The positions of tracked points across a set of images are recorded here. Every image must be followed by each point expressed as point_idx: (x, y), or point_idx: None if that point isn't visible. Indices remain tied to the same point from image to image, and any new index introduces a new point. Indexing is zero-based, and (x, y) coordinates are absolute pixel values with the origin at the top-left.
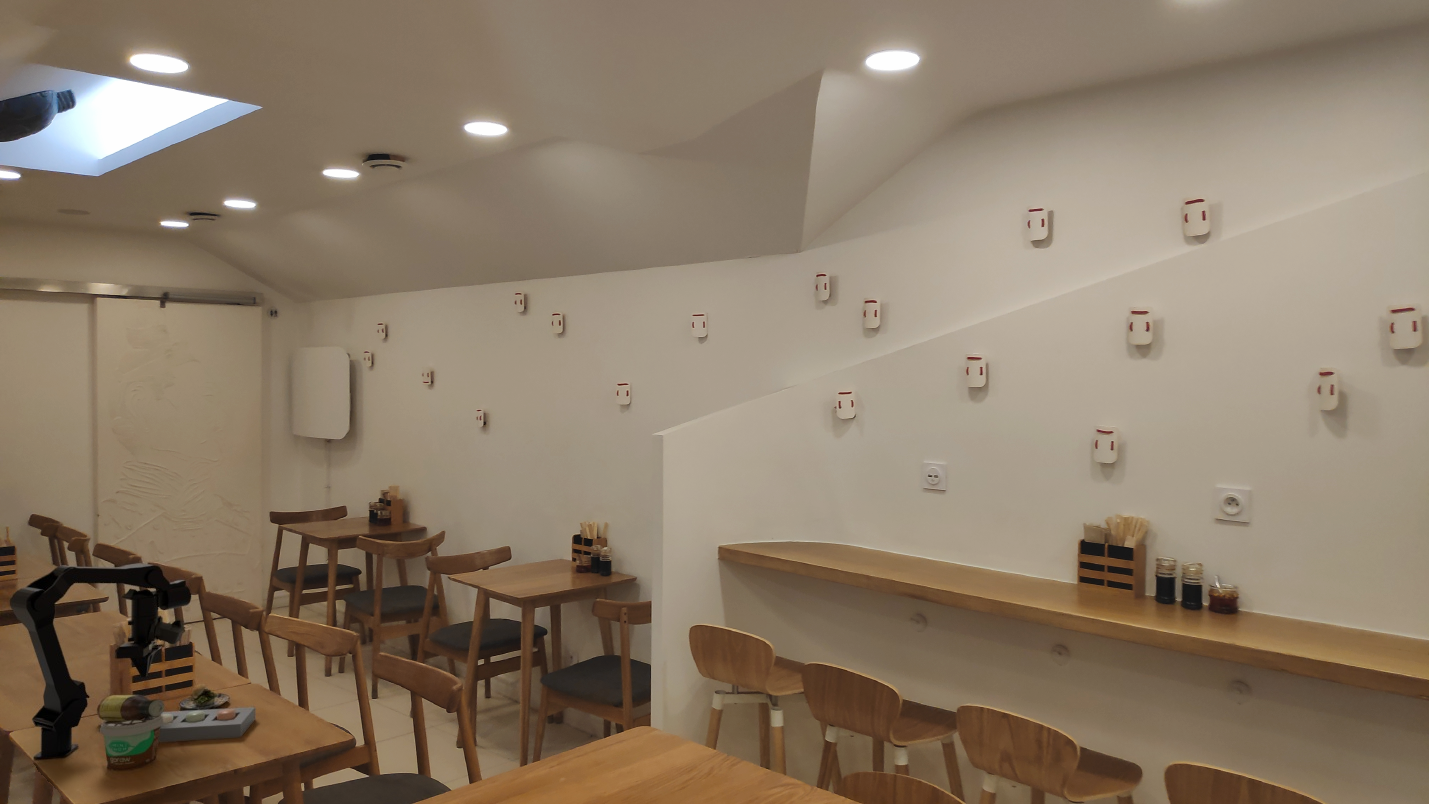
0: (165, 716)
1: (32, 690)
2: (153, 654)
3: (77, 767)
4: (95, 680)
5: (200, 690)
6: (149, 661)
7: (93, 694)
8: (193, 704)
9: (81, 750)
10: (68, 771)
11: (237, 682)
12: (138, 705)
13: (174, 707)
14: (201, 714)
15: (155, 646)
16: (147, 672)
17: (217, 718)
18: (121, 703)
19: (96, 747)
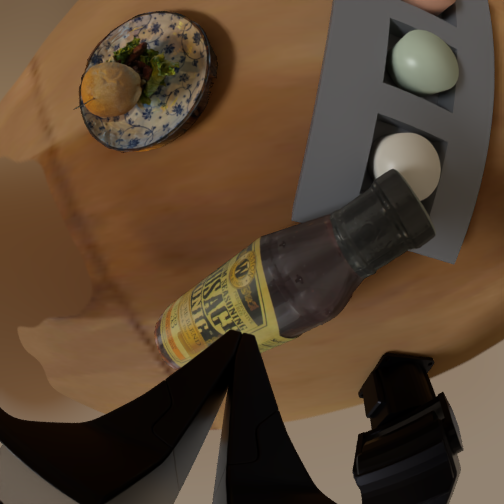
0: (411, 161)
1: (59, 390)
2: (124, 430)
3: (494, 322)
4: (18, 331)
5: (127, 74)
6: (202, 409)
7: (56, 339)
8: (132, 112)
9: (411, 341)
10: (499, 330)
11: (20, 80)
12: (361, 280)
13: (130, 168)
14: (444, 43)
15: (54, 487)
16: (239, 346)
17: (440, 10)
18: (291, 339)
19: (412, 318)
